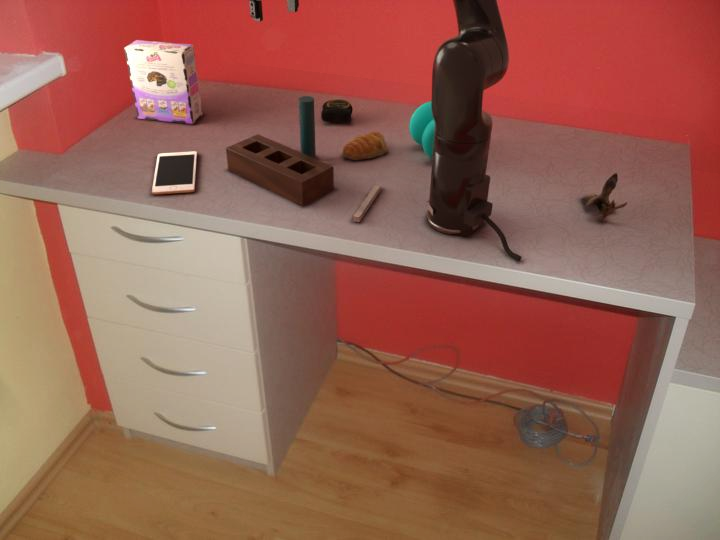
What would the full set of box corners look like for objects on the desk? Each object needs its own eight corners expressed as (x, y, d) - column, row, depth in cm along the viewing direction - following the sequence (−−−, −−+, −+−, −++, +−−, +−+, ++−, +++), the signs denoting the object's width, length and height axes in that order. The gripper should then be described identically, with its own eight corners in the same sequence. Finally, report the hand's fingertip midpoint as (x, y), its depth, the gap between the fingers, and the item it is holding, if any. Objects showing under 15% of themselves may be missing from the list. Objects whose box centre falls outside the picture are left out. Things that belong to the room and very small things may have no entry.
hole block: (259, 156, 145) (257, 133, 142) (333, 189, 134) (333, 166, 131) (228, 170, 140) (225, 147, 137) (303, 206, 129) (301, 182, 126)
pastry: (355, 166, 142) (355, 148, 140) (334, 154, 146) (334, 137, 144) (390, 153, 147) (390, 136, 145) (369, 142, 151) (370, 125, 149)
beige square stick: (375, 188, 134) (375, 183, 134) (381, 189, 134) (381, 184, 134) (353, 221, 125) (353, 216, 124) (359, 222, 125) (359, 217, 124)
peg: (318, 159, 144) (317, 98, 137) (308, 164, 143) (306, 103, 135) (308, 154, 146) (306, 94, 138) (298, 159, 144) (295, 99, 137)
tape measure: (320, 125, 158) (320, 109, 155) (324, 113, 163) (324, 97, 161) (350, 126, 157) (350, 111, 155) (354, 114, 163) (354, 99, 160)
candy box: (203, 114, 162) (194, 43, 152) (193, 125, 157) (183, 52, 147) (148, 108, 164) (136, 38, 154) (136, 118, 159) (122, 46, 150)
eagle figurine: (635, 218, 125) (624, 185, 131) (621, 191, 120) (611, 159, 127) (592, 234, 128) (584, 201, 134) (578, 208, 124) (571, 176, 130)
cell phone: (152, 195, 132) (151, 192, 131) (158, 156, 144) (157, 153, 144) (194, 192, 133) (194, 189, 132) (197, 153, 145) (196, 151, 145)
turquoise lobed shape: (449, 139, 152) (453, 95, 146) (468, 160, 145) (473, 114, 139) (406, 145, 150) (408, 101, 144) (423, 166, 142) (426, 120, 136)
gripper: (251, -71, 116) (258, 28, 126) (314, -82, 125) (317, 12, 134) (223, -77, 120) (232, 19, 130) (286, -87, 129) (290, 4, 138)
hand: (275, 15), depth 132 cm, fingers open, 8 cm apart
